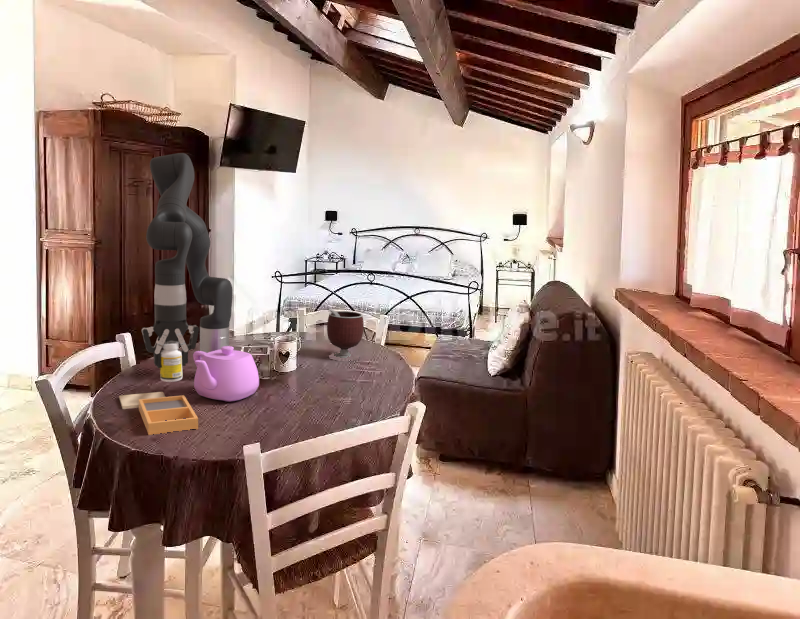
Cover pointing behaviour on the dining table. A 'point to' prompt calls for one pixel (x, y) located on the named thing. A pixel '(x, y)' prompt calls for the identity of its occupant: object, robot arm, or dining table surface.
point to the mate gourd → (344, 330)
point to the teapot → (225, 374)
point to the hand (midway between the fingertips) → (171, 366)
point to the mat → (137, 399)
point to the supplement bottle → (171, 362)
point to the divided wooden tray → (167, 414)
